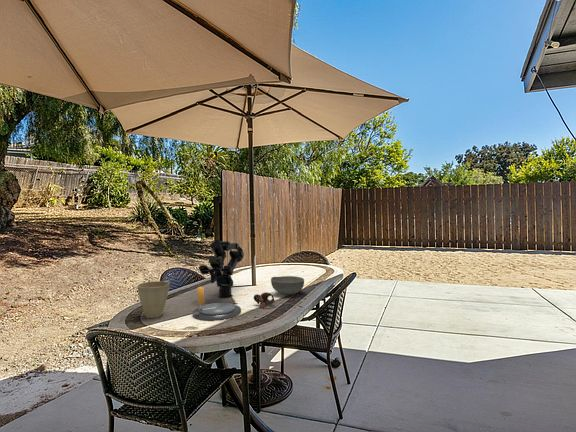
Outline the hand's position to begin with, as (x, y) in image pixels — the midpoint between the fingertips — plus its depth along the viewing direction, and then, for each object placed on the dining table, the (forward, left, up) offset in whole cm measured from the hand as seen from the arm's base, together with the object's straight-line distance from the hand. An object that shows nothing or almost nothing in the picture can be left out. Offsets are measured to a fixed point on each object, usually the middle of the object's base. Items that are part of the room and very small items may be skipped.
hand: (212, 282), depth 192 cm
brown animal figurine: (-19, +21, -13) cm, 31 cm away
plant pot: (+30, -5, -13) cm, 33 cm away
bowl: (-45, +13, -13) cm, 48 cm away
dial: (+6, +14, -11) cm, 18 cm away
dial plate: (+6, +14, -12) cm, 19 cm away
